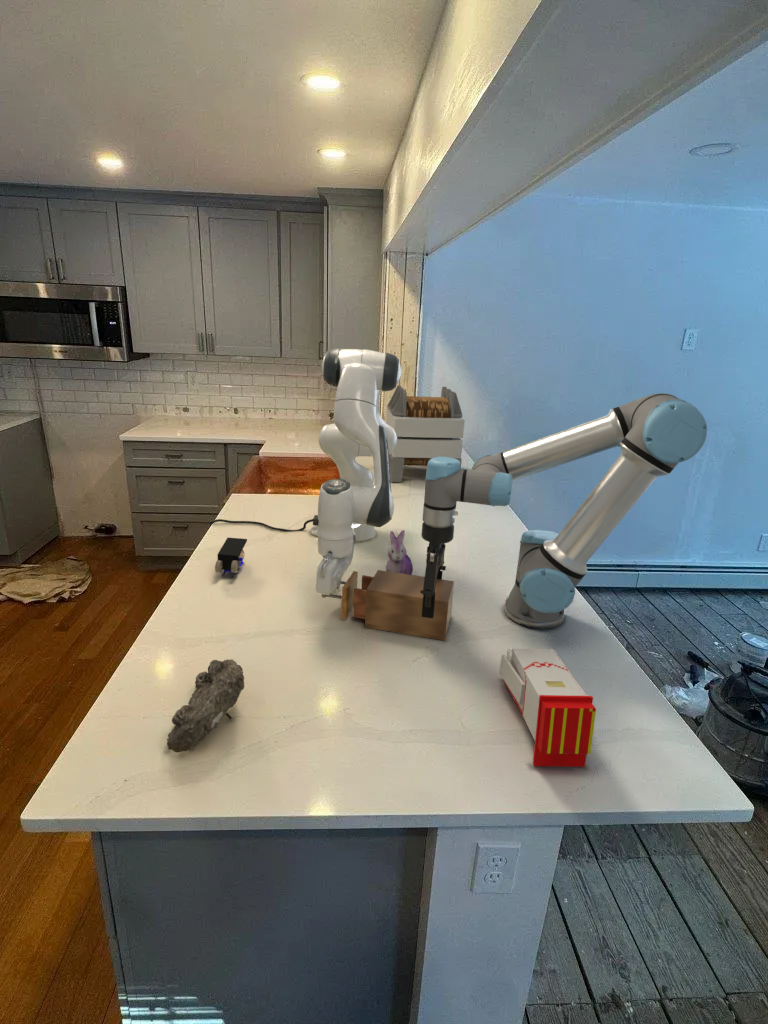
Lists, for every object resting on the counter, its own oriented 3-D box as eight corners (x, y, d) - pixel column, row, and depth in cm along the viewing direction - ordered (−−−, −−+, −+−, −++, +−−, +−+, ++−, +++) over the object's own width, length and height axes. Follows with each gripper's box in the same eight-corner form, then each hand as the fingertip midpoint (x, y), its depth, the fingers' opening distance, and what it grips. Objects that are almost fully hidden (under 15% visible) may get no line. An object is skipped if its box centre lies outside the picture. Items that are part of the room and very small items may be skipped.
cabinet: (364, 627, 140) (366, 589, 137) (376, 605, 151) (377, 569, 147) (444, 640, 136) (448, 602, 133) (450, 617, 147) (454, 581, 143)
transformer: (382, 463, 289) (386, 382, 275) (445, 464, 293) (451, 384, 279) (390, 482, 257) (394, 392, 243) (460, 483, 261) (468, 394, 247)
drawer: (320, 615, 143) (320, 584, 140) (332, 596, 152) (333, 567, 150) (414, 630, 138) (416, 599, 135) (421, 610, 148) (423, 581, 145)
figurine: (392, 589, 160) (394, 540, 155) (375, 574, 168) (377, 527, 163) (420, 583, 164) (424, 535, 159) (403, 569, 172) (406, 523, 167)
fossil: (192, 660, 117) (244, 628, 112) (224, 691, 120) (276, 661, 115) (142, 746, 98) (202, 712, 93) (182, 779, 101) (242, 748, 96)
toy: (549, 630, 124) (606, 704, 95) (544, 686, 127) (597, 774, 98) (495, 629, 124) (534, 703, 95) (490, 685, 127) (527, 774, 97)
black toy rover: (238, 584, 162) (249, 557, 175) (236, 562, 158) (247, 536, 172) (215, 584, 161) (227, 556, 175) (212, 561, 158) (225, 535, 171)
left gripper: (335, 563, 131) (334, 615, 136) (358, 532, 150) (356, 579, 155) (309, 559, 132) (309, 611, 137) (335, 529, 151) (334, 576, 156)
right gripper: (447, 543, 121) (439, 632, 129) (459, 508, 143) (452, 585, 151) (413, 539, 123) (407, 626, 130) (430, 505, 145) (424, 581, 152)
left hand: (334, 594), depth 146 cm, fingers closed, pressing on drawer
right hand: (431, 604), depth 141 cm, fingers closed on cabinet, 11 cm apart
